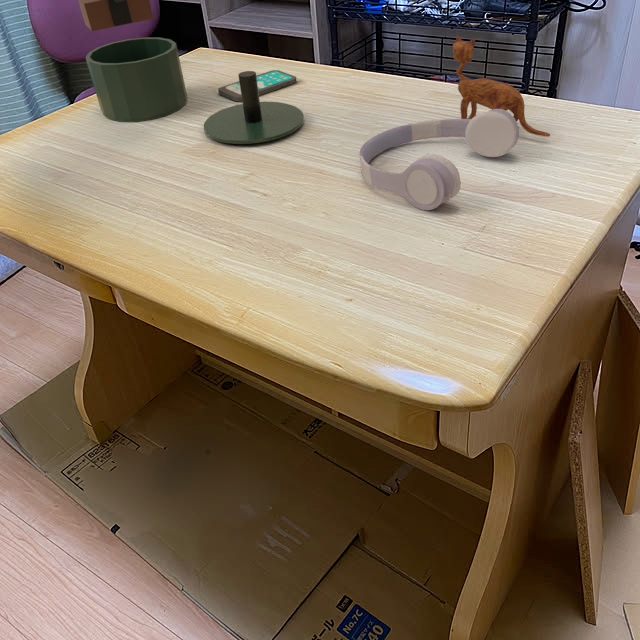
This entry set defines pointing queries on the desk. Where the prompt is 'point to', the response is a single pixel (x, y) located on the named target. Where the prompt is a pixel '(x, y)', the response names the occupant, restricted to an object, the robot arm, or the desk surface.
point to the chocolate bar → (100, 15)
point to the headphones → (434, 170)
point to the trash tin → (137, 79)
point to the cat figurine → (487, 90)
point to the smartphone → (260, 84)
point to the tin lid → (253, 117)
